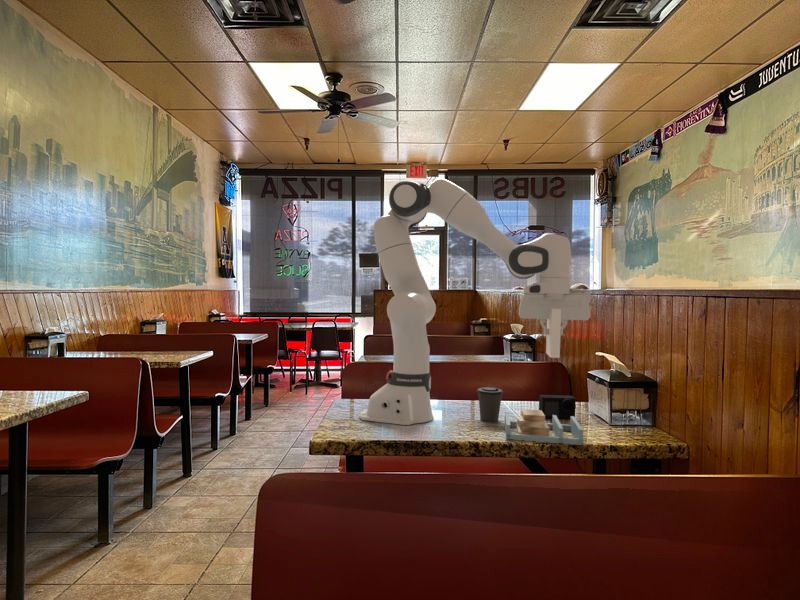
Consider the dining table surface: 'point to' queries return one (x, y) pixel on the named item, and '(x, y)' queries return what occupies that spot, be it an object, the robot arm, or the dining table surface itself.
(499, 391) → the coffee cup
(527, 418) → the offcut stack
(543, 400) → the digital camera
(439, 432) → the dining table surface
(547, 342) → the white flat slab
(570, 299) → the robot arm
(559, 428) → the slotted rack
